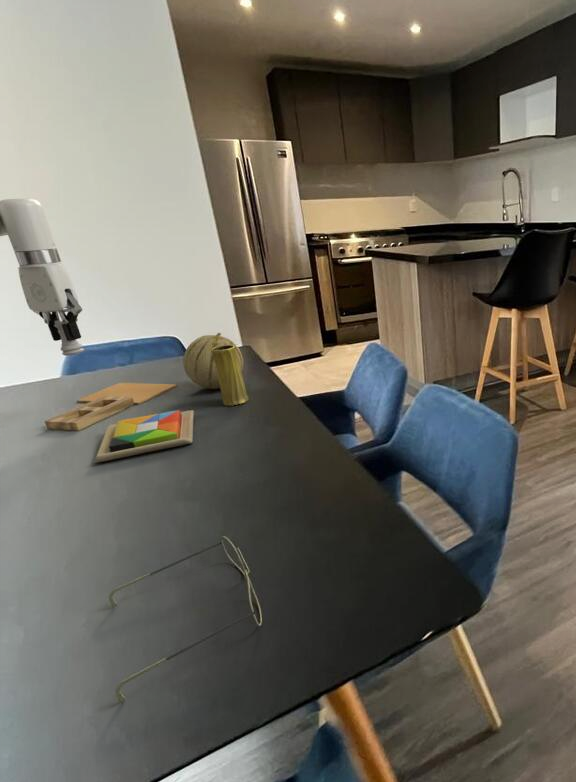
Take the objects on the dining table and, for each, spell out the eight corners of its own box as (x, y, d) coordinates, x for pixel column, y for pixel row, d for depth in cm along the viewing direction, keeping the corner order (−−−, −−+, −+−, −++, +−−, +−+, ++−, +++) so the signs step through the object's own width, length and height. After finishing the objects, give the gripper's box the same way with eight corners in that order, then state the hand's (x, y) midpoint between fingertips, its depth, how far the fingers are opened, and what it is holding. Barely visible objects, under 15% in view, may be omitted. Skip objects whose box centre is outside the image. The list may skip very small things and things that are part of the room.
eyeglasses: (272, 628, 56) (263, 594, 54) (119, 704, 48) (102, 667, 46) (237, 556, 68) (229, 526, 66) (111, 607, 60) (97, 574, 58)
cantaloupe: (184, 388, 137) (169, 336, 132) (236, 375, 146) (224, 325, 141) (201, 401, 127) (186, 344, 121) (256, 385, 136) (245, 332, 130)
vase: (218, 403, 124) (204, 349, 119) (239, 396, 129) (227, 343, 123) (232, 408, 121) (218, 352, 116) (253, 399, 126) (241, 345, 120)
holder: (47, 429, 115) (44, 421, 114) (106, 403, 130) (103, 396, 129) (78, 430, 113) (75, 422, 112) (134, 404, 128) (132, 397, 127)
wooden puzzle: (94, 467, 95) (87, 451, 94) (111, 431, 112) (106, 417, 110) (192, 446, 102) (188, 431, 100) (195, 415, 118) (191, 402, 116)
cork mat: (77, 402, 132) (76, 400, 132) (120, 384, 144) (119, 382, 144) (139, 404, 127) (138, 402, 127) (177, 386, 140) (177, 384, 140)
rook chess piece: (64, 356, 115) (50, 323, 112) (60, 354, 118) (47, 321, 115) (86, 352, 118) (74, 318, 115) (82, 349, 121) (70, 317, 118)
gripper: (-7, 262, 108) (25, 343, 115) (51, 259, 104) (80, 344, 111) (27, 258, 115) (55, 335, 122) (83, 256, 111) (109, 335, 118)
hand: (67, 338), depth 116 cm, fingers closed on rook chess piece, 3 cm apart
